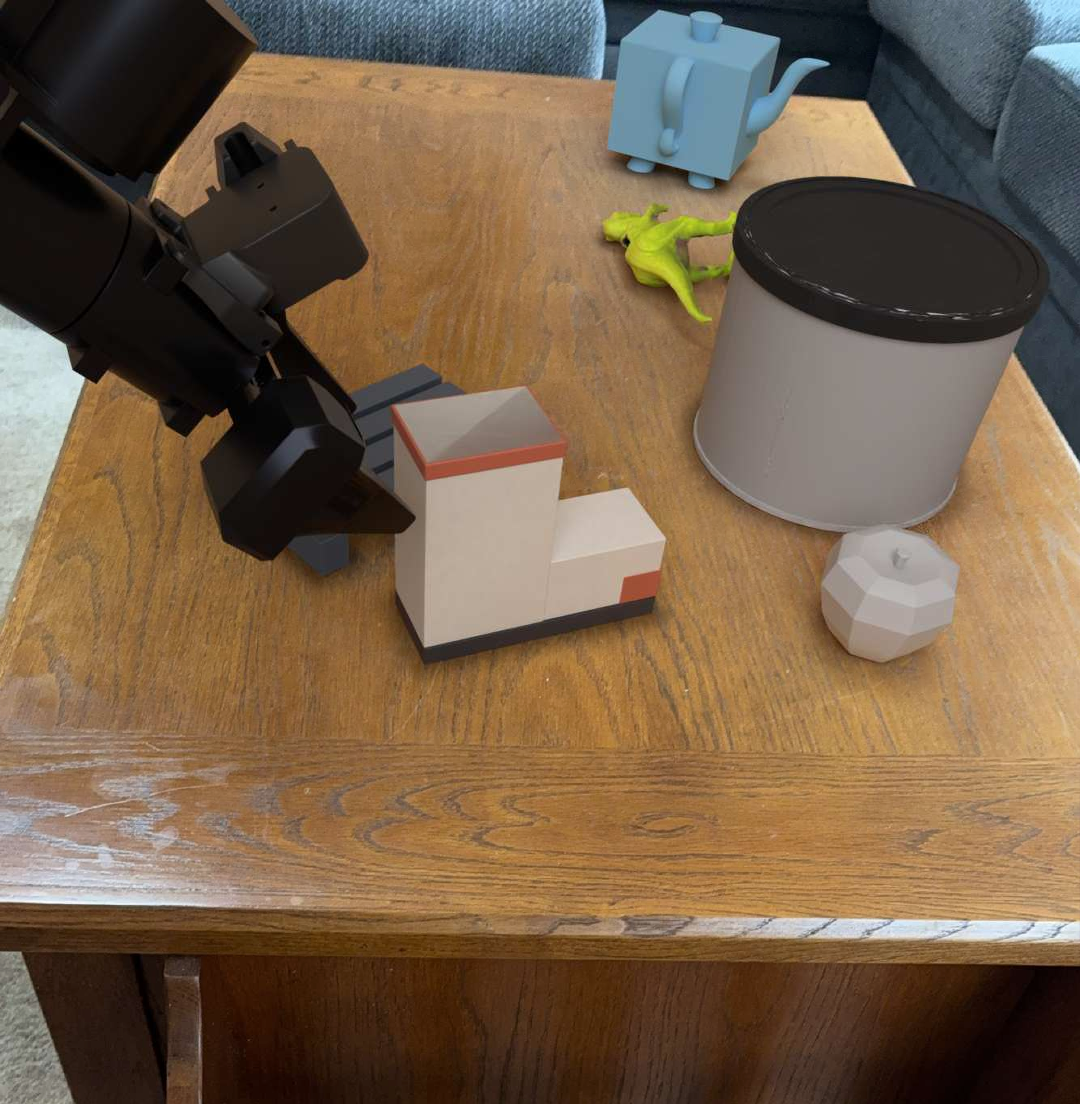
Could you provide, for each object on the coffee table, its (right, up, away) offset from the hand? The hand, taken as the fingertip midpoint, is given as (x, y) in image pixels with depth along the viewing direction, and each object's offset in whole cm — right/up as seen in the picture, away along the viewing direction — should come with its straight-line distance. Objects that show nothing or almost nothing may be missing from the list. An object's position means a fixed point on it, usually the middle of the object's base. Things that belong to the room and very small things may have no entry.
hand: (378, 465), depth 53 cm
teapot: (+24, +42, +56) cm, 74 cm away
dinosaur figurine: (+18, +24, +40) cm, 50 cm away
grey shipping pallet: (-3, +3, +18) cm, 18 cm away
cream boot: (+7, -6, +11) cm, 14 cm away
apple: (+27, -7, +12) cm, 30 cm away
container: (+28, +7, +25) cm, 38 cm away
